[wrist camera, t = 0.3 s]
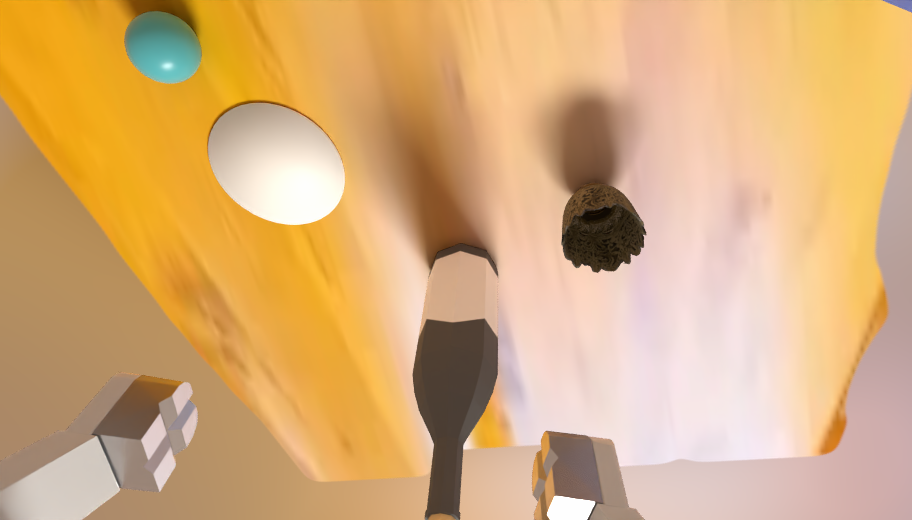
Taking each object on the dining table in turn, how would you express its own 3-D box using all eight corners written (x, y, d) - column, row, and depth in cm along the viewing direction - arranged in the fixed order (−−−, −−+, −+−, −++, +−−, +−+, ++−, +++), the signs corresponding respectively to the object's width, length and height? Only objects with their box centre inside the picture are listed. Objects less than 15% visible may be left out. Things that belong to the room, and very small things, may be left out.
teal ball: (139, -1, 43) (98, 17, 38) (205, 7, 43) (171, 26, 39) (157, 66, 46) (122, 89, 42) (218, 73, 46) (189, 97, 42)
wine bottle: (433, 295, 62) (394, 560, 39) (425, 243, 57) (375, 513, 34) (499, 294, 62) (498, 565, 38) (496, 241, 56) (494, 516, 33)
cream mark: (194, 94, 48) (193, 95, 48) (341, 111, 48) (341, 112, 48) (224, 215, 57) (223, 216, 57) (348, 230, 57) (347, 231, 57)
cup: (643, 175, 50) (663, 222, 44) (607, 232, 55) (621, 281, 49) (574, 153, 49) (584, 198, 43) (543, 212, 54) (549, 260, 47)
